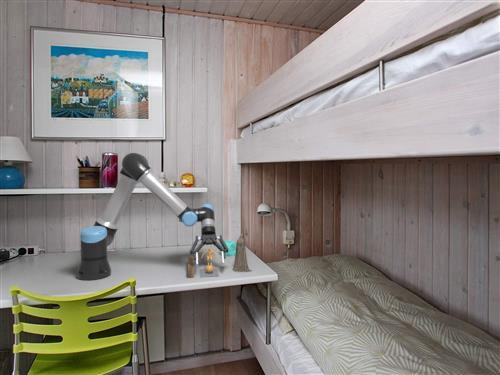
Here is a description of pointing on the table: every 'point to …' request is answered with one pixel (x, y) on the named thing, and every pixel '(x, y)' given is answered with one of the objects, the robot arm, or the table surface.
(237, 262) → the wizard figurine
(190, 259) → the walnut rail
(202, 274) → the mat
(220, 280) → the table surface
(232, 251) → the decorative dice
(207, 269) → the figurine
